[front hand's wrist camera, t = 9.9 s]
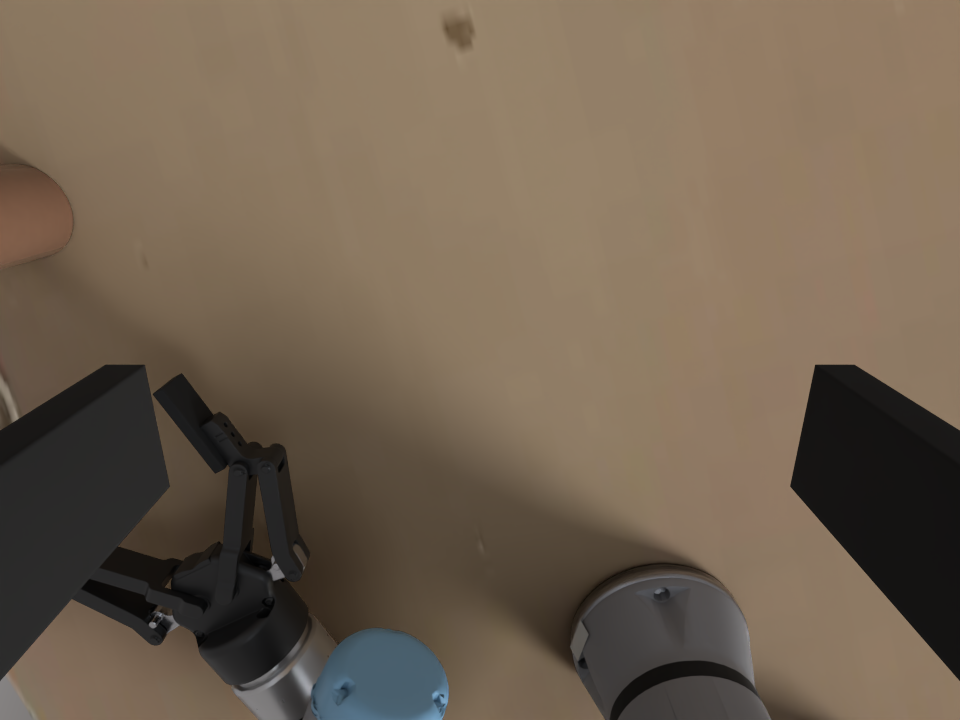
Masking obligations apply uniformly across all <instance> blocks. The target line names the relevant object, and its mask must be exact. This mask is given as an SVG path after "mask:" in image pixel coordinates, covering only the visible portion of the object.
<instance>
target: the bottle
mask: <svg viewBox="0 0 960 720" xmlns="http://www.w3.org/2000/svg"><path fill="white" fill-rule="evenodd" d="M72 231H73V214H72V209H71V206H70V204H69V201H68V199H67V197H66V195H65V194H64V192H63V191H62V189H61V188H60V187H59V186H58V185H57V184H56V183H55V182H54V181H53V180H52V179H51V178H50V177H48V176H47V175H46V174H44V173H43V172H41V171H39V170H37V169H35V168H33V167H30V166H26V165H21V164H4V165H0V270H2V269H5V268H9V267H12V266H16V265H20V264H23V263H27V262H30V261H34V260H37V259H41V258H44V257H48V256H51V255H54V254H55V253H57V252H59V251H60V250H61V249H63V248H64V246H65V245H66V244H67V243H68V241H69V239H70V237H71V234H72Z"/></svg>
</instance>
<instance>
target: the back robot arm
mask: <svg viewBox="0 0 960 720" xmlns="http://www.w3.org/2000/svg"><path fill="white" fill-rule="evenodd" d="M153 395H154V397H155V398H156V399H157V400H158V402H159V403H160V404H161V405H162V407H163V408H164V409H165V411H166V412H167V413H168V414H169V416H170V417H171V418H172V419H173V421H174V422H175V423H176V425H177V426H178V427H179V428H180V430H181V431H182V432H183V433H184V435H185V436H186V437H187V439H188V440H189V441H190V442H191V444H192V445H193V446H194V447H195V449H196V450H197V451H198V453H199V454H200V455H201V456H202V458H203V459H204V460H205V461H206V463H207V464H208V465H209V466H210V468H211V469H212V470H213V472H214V473H217V472H219V471H221V470H223V469H225V467H226V466H227V465H228V466H229V467H230V469H229V476H228V489H227V501H226V514H225V526H224V539H223V544H221V543H220V542H217V543H215V544H213V545H211V546H210V547H209V548H208V549H206V550H205V551H204V552H200V553H195V554H192V555H190V556H188V557H186V558H185V559H184V561H181V560H178V559H174V558H170V559H167V560H161V559H157V558H154V557H151V556H147V555H144V554H141V553H138V552H134V551H131V550H128V549H124V548H121V547H118V546H117V548H116V549H115V550H114V551H113V552H112V553H111V554H110V556H109V557H108V558H107V559H106V560H105V561H104V562H103V564H102V565H101V566H100V567H99V568H98V569H97V570H96V572H95V573H94V574H93V575H92V576H91V577H90V578H89V580H88V581H87V582H86V583H85V584H84V585H83V587H82V588H81V589H80V590H79V591H78V592H77V593H76V595H75V596H74V597H73V598H72V599H73V600H75V601H77V602H79V603H81V604H83V605H86V606H88V607H90V608H92V609H94V610H96V611H98V612H100V613H102V614H104V615H106V616H108V617H110V618H112V619H114V620H116V621H118V622H120V623H122V624H124V625H126V626H129V627H131V628H132V629H134V630H135V631H136V632H137V633H138V634H139V635H140V636H142V637H143V638H144V639H145V640H146V641H147V642H148V643H150V644H151V645H160V644H161V643H162V642H163V640H164V639H165V637H166V635H167V634H168V632H170V631H171V630H173V629H175V628H176V627H178V626H179V625H180V626H183V627H185V628H187V629H189V630H190V631H192V632H193V633H194V634H195V636H196V640H197V643H198V649H199V653H200V655H201V656H202V657H203V659H204V660H205V661H206V662H207V663H208V664H209V665H210V666H211V667H212V669H213V670H214V671H215V672H216V673H217V674H218V675H219V676H220V677H221V678H222V680H223V681H224V682H225V683H227V684H229V685H231V686H232V691H233V692H234V693H235V694H236V696H237V697H238V698H239V699H240V700H241V701H242V702H243V703H244V704H245V705H246V707H247V708H248V709H249V710H250V711H251V712H252V713H253V714H254V715H255V716H256V717H257V718H258V719H259V720H442V718H443V716H444V713H445V710H446V706H447V703H448V697H449V687H448V681H447V677H446V674H445V671H444V669H443V667H442V665H441V664H440V662H439V660H438V659H437V657H436V656H435V654H434V653H433V652H432V651H431V650H430V649H429V648H428V647H427V646H426V645H425V644H424V643H422V642H421V641H420V640H418V639H417V638H415V637H413V636H411V635H409V634H407V633H405V632H402V631H393V630H391V629H383V628H369V629H365V630H361V631H358V632H356V633H354V634H352V635H350V636H348V637H347V638H345V639H344V640H343V641H342V642H341V643H340V644H339V645H337V643H336V642H335V641H334V640H333V638H332V637H331V636H330V635H329V633H328V632H327V631H326V630H325V628H324V627H323V626H322V625H321V623H320V622H319V621H318V620H317V618H316V617H315V616H314V615H313V614H311V613H309V612H308V607H307V605H306V604H305V603H304V601H303V600H302V599H301V598H300V596H299V595H298V594H297V593H296V591H295V590H294V589H293V588H292V586H291V585H290V584H289V583H288V581H287V580H289V581H292V582H295V581H298V580H300V578H301V576H302V574H303V571H304V569H305V566H306V564H307V561H308V559H309V556H310V552H309V550H308V548H307V546H306V545H305V543H304V541H303V539H302V538H301V536H300V534H299V531H298V525H297V519H296V512H295V506H294V500H293V494H292V487H291V481H290V475H289V468H288V462H287V456H286V450H285V448H284V447H283V446H282V445H280V444H272V445H271V446H270V447H268V448H262V446H261V445H260V444H259V443H257V442H250V443H249V444H247V443H246V441H245V440H244V439H243V437H242V436H241V435H240V433H239V432H238V431H237V429H235V427H234V425H233V424H232V423H231V421H230V420H229V419H228V417H227V416H225V415H224V414H222V413H221V412H218V413H216V414H214V415H213V414H212V412H211V411H210V410H209V408H208V407H207V406H206V404H205V403H204V402H203V401H202V399H201V398H200V397H199V395H198V394H197V393H196V391H195V390H194V389H193V387H192V386H191V385H190V383H189V382H188V381H187V379H186V378H185V377H184V375H183V374H182V373H181V374H179V375H178V376H176V377H174V378H172V379H171V380H170V381H169V382H167V383H166V384H165V385H164V386H162V387H161V388H160V389H158V390H157V391H156V392H155V393H153ZM257 475H258V478H259V484H260V489H261V495H262V500H263V506H264V512H265V517H266V523H267V528H268V534H269V539H270V545H271V550H272V554H273V556H272V558H271V560H270V559H268V558H265V557H263V556H260V555H257V554H255V553H252V545H253V535H254V528H252V526H253V516H254V506H255V496H256V485H257ZM284 577H285V578H286V579H287V580H286V579H285V578H284ZM171 578H172V580H171V589H168V588H165V586H166V584H167V583H168V582H169V580H170V579H171ZM570 639H571V646H570V648H571V650H572V654H573V659H574V664H575V668H576V670H577V673H578V675H579V677H580V679H581V681H582V683H583V684H584V686H585V687H586V689H587V691H588V692H589V694H590V696H591V697H592V699H593V700H594V702H595V704H596V705H597V707H598V709H599V710H600V712H601V713H602V715H603V717H604V718H605V720H771V718H770V716H769V714H768V712H767V710H766V708H765V706H764V704H763V702H762V700H761V698H760V696H759V694H758V692H757V690H756V688H755V683H754V674H753V665H752V658H751V651H750V638H749V632H748V627H747V623H746V620H745V618H744V615H743V613H742V612H741V610H740V608H739V606H738V604H737V602H736V601H735V599H734V597H733V596H732V594H731V593H730V592H729V590H728V589H727V588H726V587H725V586H724V585H723V584H722V583H720V582H719V581H718V580H717V579H715V578H713V577H712V576H710V575H708V574H706V573H704V572H702V571H699V570H697V569H694V568H690V567H686V566H681V565H672V564H657V565H648V566H642V567H637V568H634V569H631V570H627V571H625V572H622V573H620V574H618V575H616V576H614V577H612V578H610V579H608V580H607V581H605V582H604V583H602V584H601V585H599V586H598V587H597V588H596V589H595V590H593V591H592V592H591V593H590V594H589V595H588V596H587V597H586V599H585V600H584V601H583V603H582V604H581V606H580V607H579V609H578V611H577V613H576V615H575V617H574V620H573V623H572V627H571V635H570Z"/></svg>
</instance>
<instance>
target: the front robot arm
mask: <svg viewBox="0 0 960 720" xmlns="http://www.w3.org/2000/svg"><path fill="white" fill-rule="evenodd" d="M169 487H170V485H169V480H168V476H167V471H166V466H165V461H164V456H163V451H162V446H161V442H160V437H159V432H158V427H157V422H156V417H155V412H154V408H153V403H152V398H151V393H150V388H149V383H148V379H147V374H146V369H145V365H104V366H103V367H101V368H100V369H98V370H96V371H95V372H93V373H92V374H90V375H88V376H87V377H85V378H84V379H82V380H80V381H79V382H77V383H76V384H74V385H72V386H71V387H69V388H68V389H66V390H64V391H63V392H61V393H60V394H58V395H56V396H55V397H53V398H52V399H50V400H48V401H47V402H45V403H44V404H42V405H40V406H39V407H37V408H36V409H34V410H32V411H31V412H29V413H28V414H26V415H24V416H23V417H21V418H20V419H18V420H16V421H15V422H13V423H12V424H10V425H8V426H7V427H5V428H4V429H2V430H0V681H1V679H2V678H3V677H4V676H5V675H6V674H7V673H8V671H9V670H10V669H11V668H12V667H13V666H14V664H15V663H16V662H17V661H18V660H19V659H20V658H21V656H22V655H23V654H24V653H25V652H26V651H27V650H28V648H29V647H30V646H31V645H32V644H33V643H34V642H35V640H36V639H37V638H38V637H39V636H40V635H41V634H42V632H43V631H44V630H45V629H46V628H47V627H48V625H49V624H50V623H51V622H52V621H53V620H54V619H55V617H56V616H57V615H58V614H59V613H60V612H61V611H62V609H63V608H64V607H65V606H66V605H67V604H68V603H69V601H70V600H71V599H72V598H73V597H74V596H75V595H76V593H77V592H78V591H79V590H80V589H81V588H82V587H83V585H84V584H85V583H86V582H87V581H88V580H89V578H90V577H91V576H92V575H93V574H94V573H95V572H96V570H97V569H98V568H99V567H100V566H101V565H102V564H103V562H104V561H105V560H106V559H107V558H108V557H109V556H110V554H111V553H112V552H113V551H114V550H115V549H116V548H117V546H118V545H119V544H120V543H121V542H122V541H123V540H124V538H125V537H126V536H127V535H128V534H129V533H130V531H131V530H132V529H133V528H134V527H135V526H136V525H137V523H138V522H139V521H140V520H141V519H142V518H143V517H144V515H145V514H146V513H147V512H148V511H149V510H150V509H151V507H152V506H153V505H154V504H155V503H156V502H157V501H158V499H159V498H160V497H161V496H162V495H163V494H164V492H165V491H166V490H167V489H168V488H169ZM790 487H791V488H792V489H793V490H794V491H795V492H796V494H797V495H798V496H799V497H800V498H801V499H802V501H803V502H804V503H805V504H806V505H807V506H808V507H809V509H810V510H811V511H812V512H813V513H814V514H815V515H816V517H817V518H818V519H819V520H820V521H821V522H822V523H823V525H824V526H825V527H826V528H827V529H828V530H829V531H830V533H831V534H832V535H833V536H834V537H835V538H836V540H837V541H838V542H839V543H840V544H841V545H842V546H843V548H844V549H845V550H846V551H847V552H848V553H849V554H850V556H851V557H852V558H853V559H854V560H855V561H856V562H857V564H858V565H859V566H860V567H861V568H862V569H863V570H864V572H865V573H866V574H867V575H868V576H869V577H870V578H871V580H872V581H873V582H874V583H875V584H876V585H877V587H878V588H879V589H880V590H881V591H882V592H883V593H884V595H885V596H886V597H887V598H888V599H889V600H890V601H891V603H892V604H893V605H894V606H895V607H896V608H897V609H898V611H899V612H900V613H901V614H902V615H903V616H904V617H905V619H906V620H907V621H908V622H909V623H910V624H911V625H912V627H913V628H914V629H915V630H916V631H917V632H918V634H919V635H920V636H921V637H922V638H923V639H924V640H925V642H926V643H927V644H928V645H929V646H930V647H931V648H932V650H933V651H934V652H935V653H936V654H937V655H938V656H939V658H940V659H941V660H942V661H943V662H944V663H945V664H946V666H947V667H948V668H949V669H950V670H951V671H952V673H953V674H954V675H955V676H956V677H957V678H958V679H959V681H960V430H958V429H956V428H955V427H953V426H952V425H950V424H948V423H947V422H945V421H944V420H942V419H940V418H939V417H937V416H936V415H934V414H932V413H931V412H929V411H928V410H926V409H924V408H923V407H921V406H920V405H918V404H916V403H915V402H913V401H912V400H910V399H908V398H907V397H905V396H904V395H902V394H900V393H899V392H897V391H896V390H894V389H892V388H891V387H889V386H888V385H886V384H884V383H883V382H881V381H880V380H878V379H876V378H875V377H873V376H872V375H870V374H868V373H867V372H865V371H864V370H862V369H860V368H859V367H857V366H856V365H815V369H814V374H813V379H812V383H811V388H810V393H809V398H808V403H807V408H806V412H805V417H804V422H803V427H802V432H801V437H800V442H799V446H798V451H797V456H796V461H795V466H794V471H793V476H792V480H791V485H790Z"/></svg>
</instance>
